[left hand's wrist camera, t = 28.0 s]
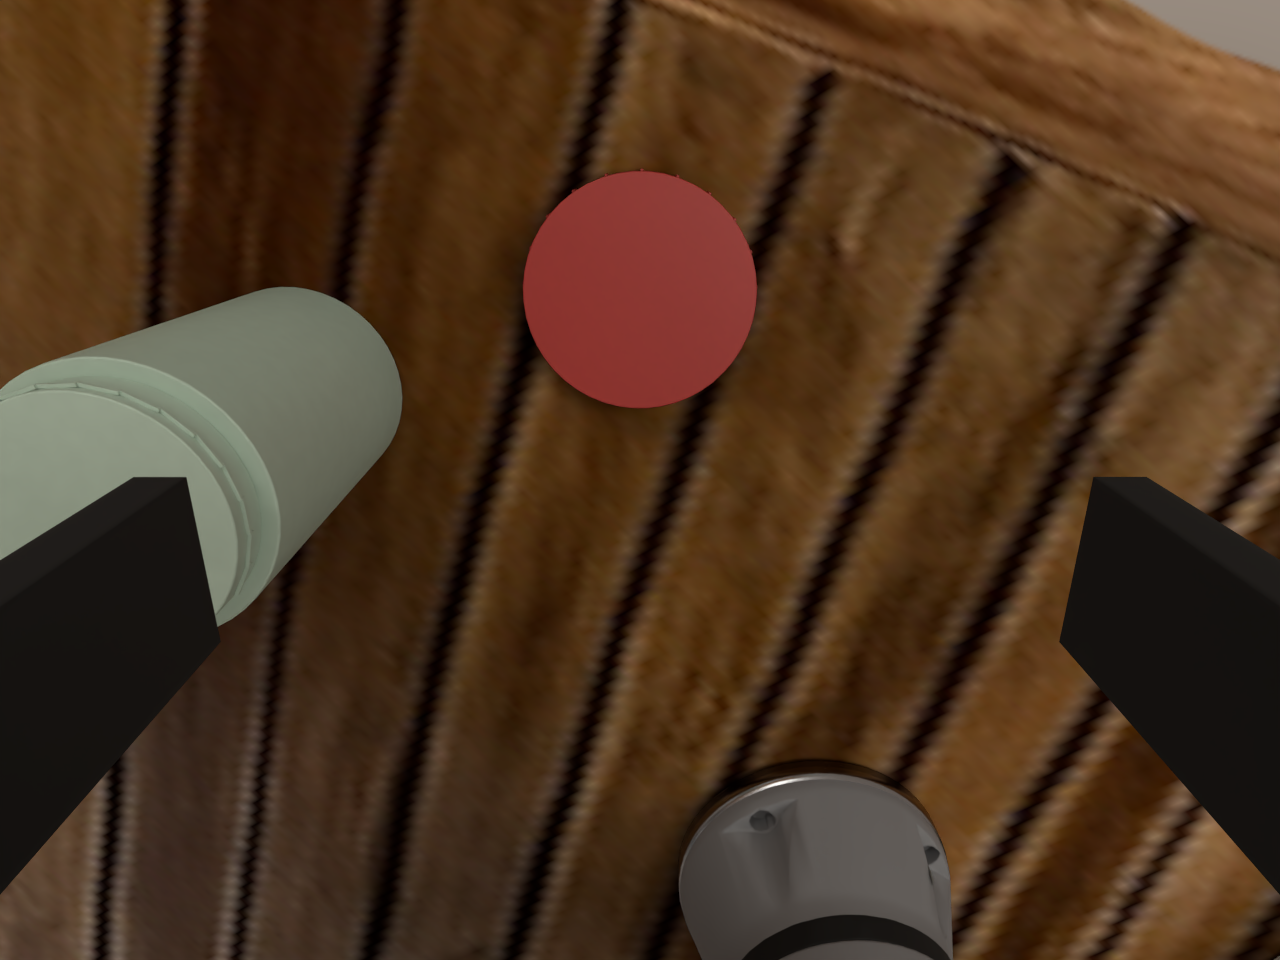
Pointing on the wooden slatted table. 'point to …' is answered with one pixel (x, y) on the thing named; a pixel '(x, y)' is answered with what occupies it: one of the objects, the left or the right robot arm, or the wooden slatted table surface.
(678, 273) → the lid
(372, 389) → the jar
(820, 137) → the wooden slatted table surface
